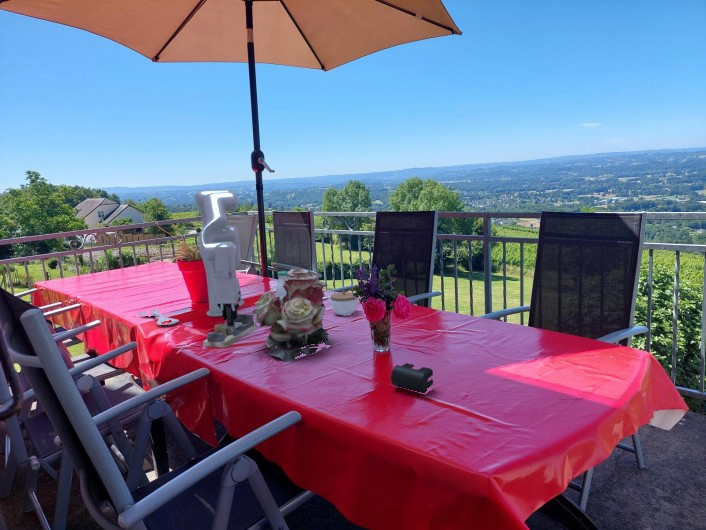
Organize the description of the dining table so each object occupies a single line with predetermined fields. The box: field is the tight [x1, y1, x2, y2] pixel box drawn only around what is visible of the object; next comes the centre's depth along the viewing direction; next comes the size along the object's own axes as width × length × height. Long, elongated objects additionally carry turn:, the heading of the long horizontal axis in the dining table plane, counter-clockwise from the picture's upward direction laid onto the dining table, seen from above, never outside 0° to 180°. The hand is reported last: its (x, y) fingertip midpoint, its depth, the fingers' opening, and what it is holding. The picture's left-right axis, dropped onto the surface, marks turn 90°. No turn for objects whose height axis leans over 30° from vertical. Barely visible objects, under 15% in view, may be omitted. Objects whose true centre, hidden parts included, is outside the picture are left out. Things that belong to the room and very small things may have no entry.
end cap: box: [390, 362, 434, 393], centre depth 128 cm, size 10×7×7 cm
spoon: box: [138, 307, 180, 326], centre depth 214 cm, size 9×32×4 cm, turn 43°
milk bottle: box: [275, 270, 288, 296], centre depth 217 cm, size 8×8×20 cm
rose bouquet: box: [252, 267, 332, 362], centre depth 165 cm, size 26×29×30 cm
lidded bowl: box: [330, 290, 359, 315], centre depth 210 cm, size 13×13×11 cm
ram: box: [223, 304, 242, 335], centre depth 183 cm, size 7×8×12 cm
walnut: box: [214, 323, 227, 338], centre depth 177 cm, size 4×4×5 cm
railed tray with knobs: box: [202, 313, 257, 348], centre depth 184 cm, size 10×25×6 cm, turn 166°
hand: (230, 319), depth 184 cm, fingers closed on ram, 3 cm apart
